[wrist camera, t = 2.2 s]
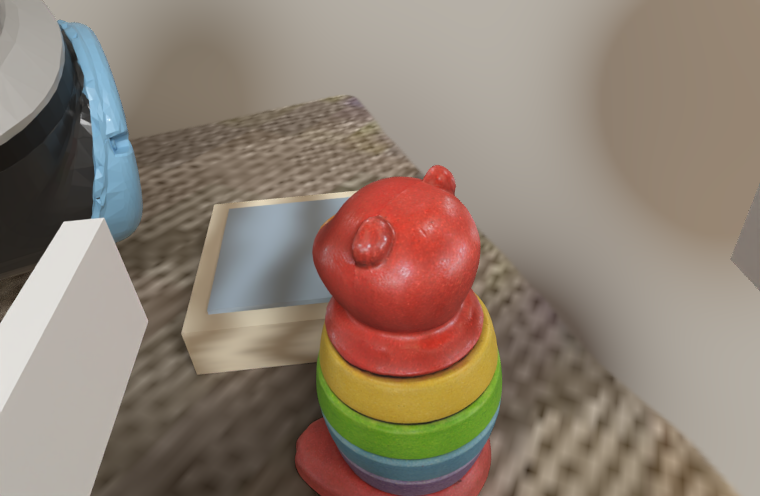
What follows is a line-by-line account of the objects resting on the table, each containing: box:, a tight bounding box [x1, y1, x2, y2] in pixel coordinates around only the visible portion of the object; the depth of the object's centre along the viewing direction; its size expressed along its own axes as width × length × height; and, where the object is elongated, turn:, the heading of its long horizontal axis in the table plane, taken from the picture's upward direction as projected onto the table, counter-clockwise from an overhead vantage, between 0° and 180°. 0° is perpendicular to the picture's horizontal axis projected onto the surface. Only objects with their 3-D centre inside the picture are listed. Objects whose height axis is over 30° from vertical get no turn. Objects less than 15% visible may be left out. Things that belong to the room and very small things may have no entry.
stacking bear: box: [295, 165, 502, 496], centre depth 28 cm, size 11×10×18 cm
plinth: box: [181, 191, 357, 375], centre depth 44 cm, size 15×15×4 cm
